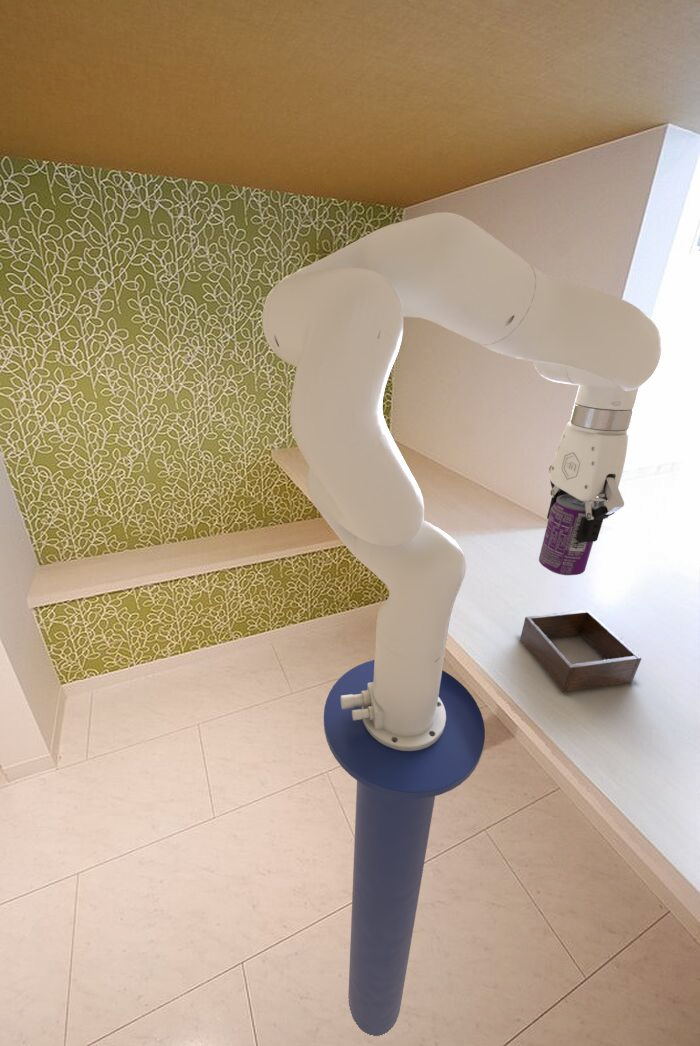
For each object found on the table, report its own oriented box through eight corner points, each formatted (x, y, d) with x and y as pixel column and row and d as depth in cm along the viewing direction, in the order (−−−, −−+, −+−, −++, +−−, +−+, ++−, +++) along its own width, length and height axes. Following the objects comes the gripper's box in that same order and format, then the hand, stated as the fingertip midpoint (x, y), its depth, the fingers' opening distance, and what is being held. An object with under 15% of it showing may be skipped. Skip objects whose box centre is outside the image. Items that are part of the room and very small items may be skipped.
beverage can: (590, 568, 73) (610, 502, 67) (573, 584, 68) (593, 514, 63) (548, 553, 77) (564, 490, 72) (530, 566, 73) (545, 500, 68)
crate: (562, 692, 67) (570, 668, 65) (519, 639, 78) (525, 616, 76) (632, 682, 69) (642, 658, 67) (581, 631, 80) (588, 609, 78)
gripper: (542, 407, 69) (521, 509, 77) (620, 434, 54) (583, 558, 61) (585, 406, 70) (559, 507, 78) (673, 433, 55) (630, 555, 63)
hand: (570, 529), depth 70 cm, fingers closed on beverage can, 7 cm apart
